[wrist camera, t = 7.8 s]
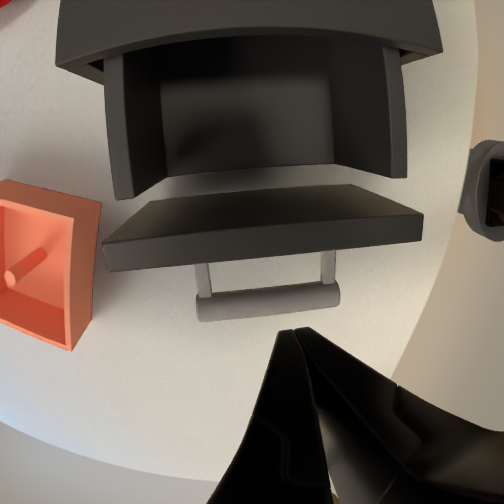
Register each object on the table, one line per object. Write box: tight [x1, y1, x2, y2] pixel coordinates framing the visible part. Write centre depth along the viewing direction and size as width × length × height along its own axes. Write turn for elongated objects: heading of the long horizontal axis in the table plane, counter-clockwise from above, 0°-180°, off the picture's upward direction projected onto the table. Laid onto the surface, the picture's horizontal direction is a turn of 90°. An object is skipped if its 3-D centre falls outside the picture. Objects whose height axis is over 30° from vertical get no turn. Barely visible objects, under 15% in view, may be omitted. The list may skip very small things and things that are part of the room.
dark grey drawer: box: [102, 35, 424, 322], centre depth 13 cm, size 18×13×8 cm
